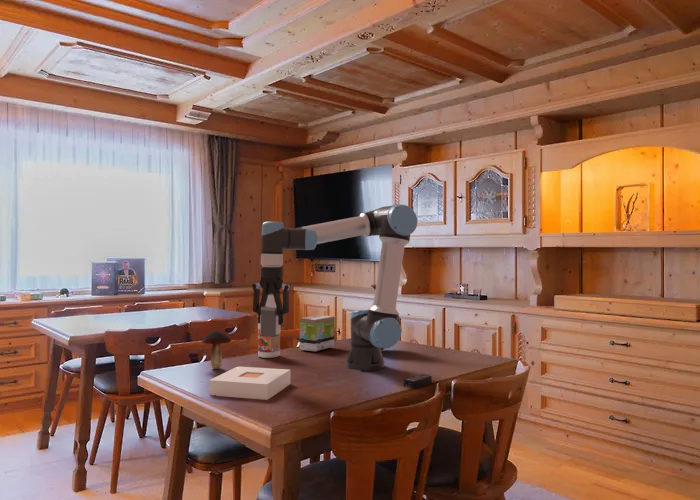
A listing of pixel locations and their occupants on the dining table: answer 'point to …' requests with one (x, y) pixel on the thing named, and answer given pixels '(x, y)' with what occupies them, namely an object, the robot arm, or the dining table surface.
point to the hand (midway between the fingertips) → (270, 333)
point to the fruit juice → (268, 338)
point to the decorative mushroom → (216, 347)
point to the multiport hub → (417, 381)
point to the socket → (250, 383)
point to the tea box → (317, 332)
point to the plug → (268, 321)
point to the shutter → (252, 375)
